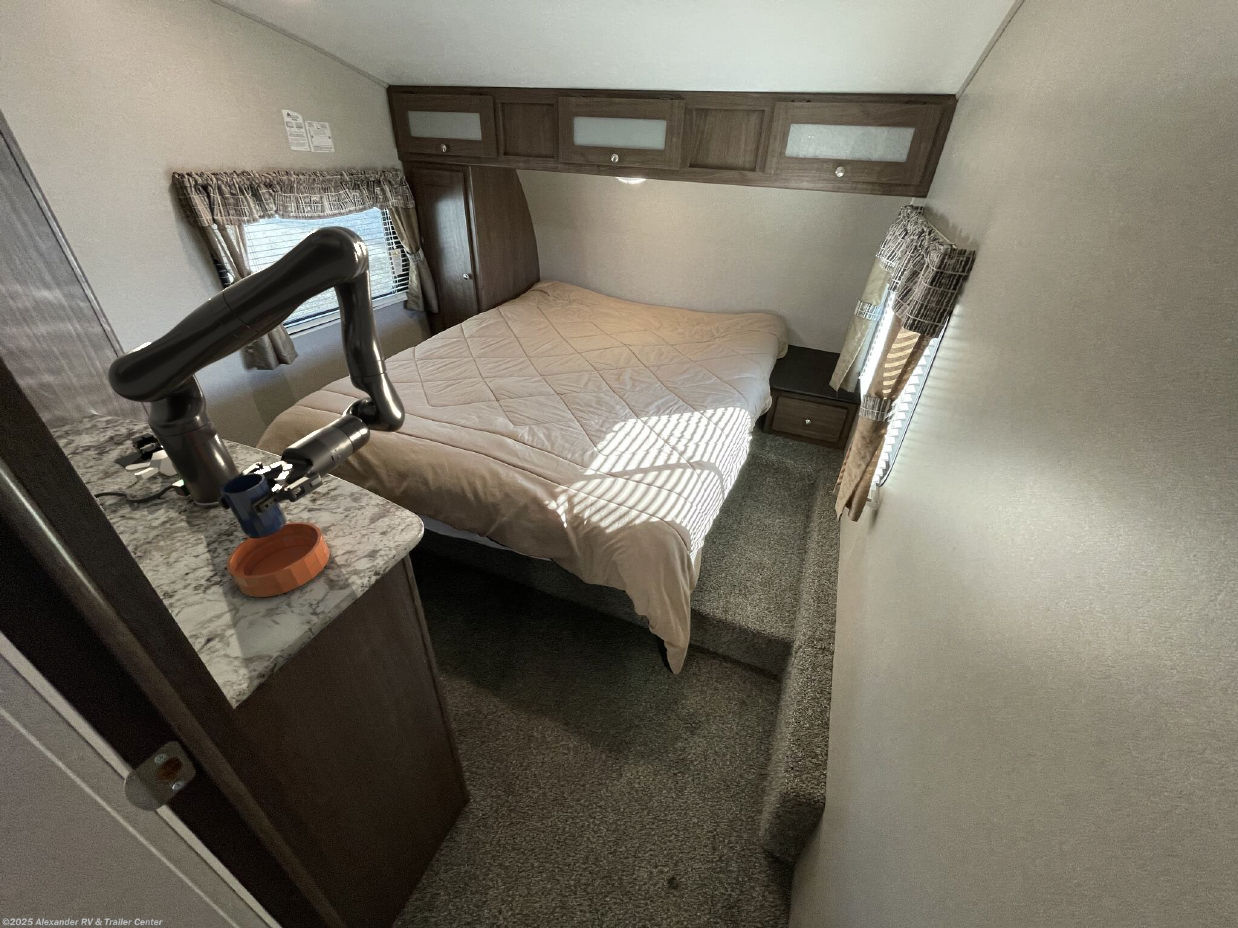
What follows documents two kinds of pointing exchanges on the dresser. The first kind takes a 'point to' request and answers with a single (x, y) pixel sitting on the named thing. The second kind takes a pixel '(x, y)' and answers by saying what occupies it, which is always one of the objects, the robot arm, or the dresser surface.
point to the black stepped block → (141, 450)
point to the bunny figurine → (153, 466)
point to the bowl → (279, 560)
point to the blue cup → (242, 495)
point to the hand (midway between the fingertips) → (237, 507)
